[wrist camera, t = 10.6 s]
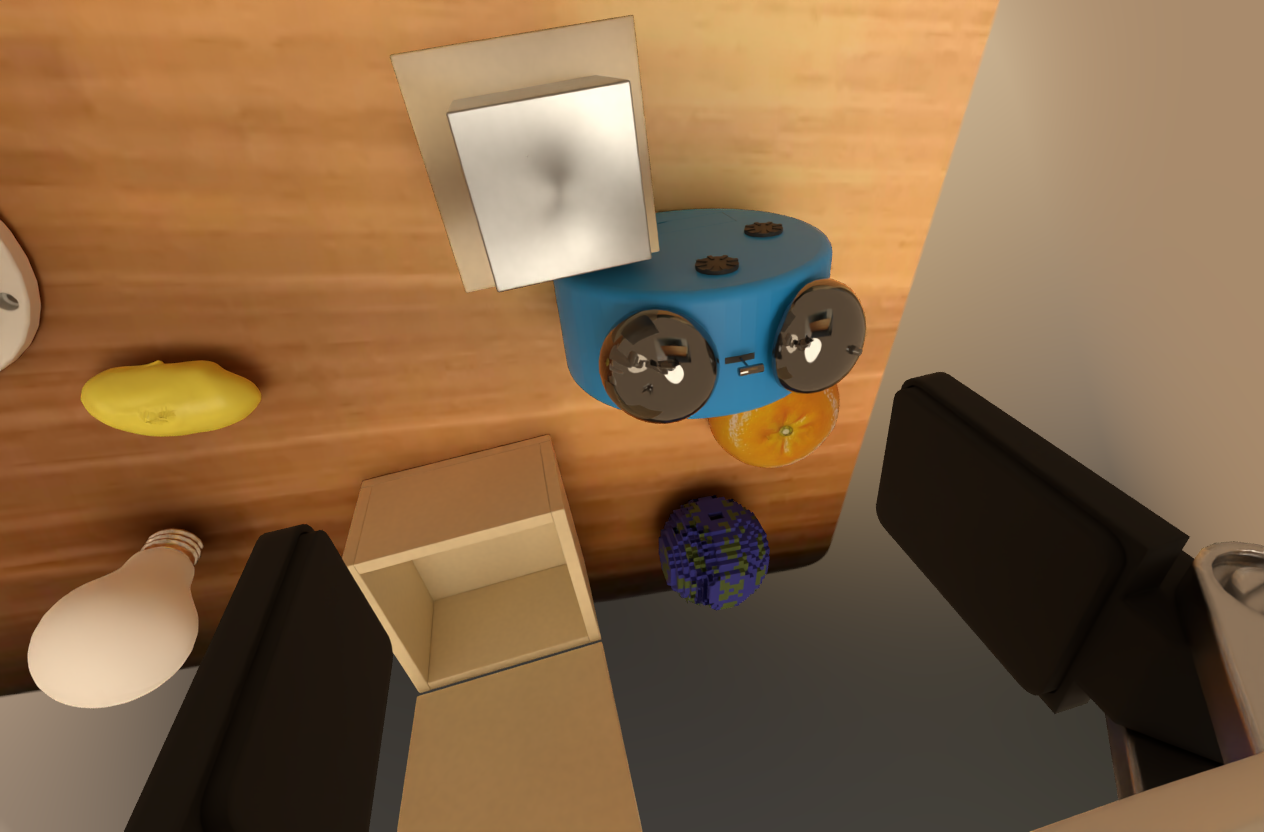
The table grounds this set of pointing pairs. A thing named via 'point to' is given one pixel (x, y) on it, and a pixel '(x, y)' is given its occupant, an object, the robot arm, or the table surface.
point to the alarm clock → (712, 318)
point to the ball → (713, 552)
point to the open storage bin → (472, 563)
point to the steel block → (554, 178)
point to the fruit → (779, 429)
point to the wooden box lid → (521, 753)
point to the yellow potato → (170, 398)
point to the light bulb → (121, 627)
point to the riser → (499, 68)
